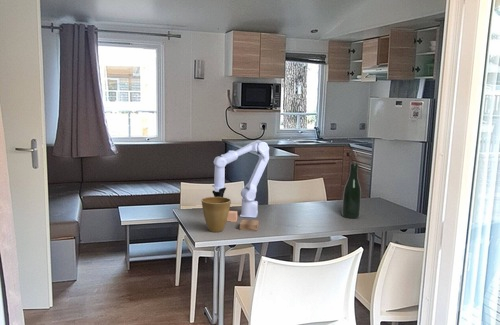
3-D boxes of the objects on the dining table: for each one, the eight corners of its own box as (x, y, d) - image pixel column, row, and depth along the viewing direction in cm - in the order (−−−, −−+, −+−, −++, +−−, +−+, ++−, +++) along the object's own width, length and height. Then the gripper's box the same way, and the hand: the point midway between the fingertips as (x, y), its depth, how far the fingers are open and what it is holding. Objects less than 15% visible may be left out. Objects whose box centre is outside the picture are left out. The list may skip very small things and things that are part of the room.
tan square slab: (258, 225, 245) (258, 220, 244) (256, 230, 236) (257, 225, 235) (242, 224, 246) (242, 219, 245) (239, 229, 237) (239, 223, 237)
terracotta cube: (237, 219, 255) (237, 211, 254) (235, 222, 250) (236, 213, 249) (228, 219, 256) (228, 210, 255) (226, 221, 251) (227, 212, 250)
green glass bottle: (338, 216, 270) (341, 161, 265) (347, 213, 278) (351, 159, 272) (353, 220, 263) (357, 163, 258) (363, 216, 271) (367, 161, 265)
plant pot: (228, 225, 243) (229, 196, 241) (231, 234, 228) (232, 203, 226) (200, 225, 241) (201, 196, 238) (201, 234, 226) (201, 203, 224)
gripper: (215, 175, 263) (214, 198, 265) (209, 180, 249) (209, 204, 251) (227, 176, 262) (226, 199, 264) (222, 180, 248) (221, 205, 250)
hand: (219, 201), depth 258 cm, fingers open, 7 cm apart
